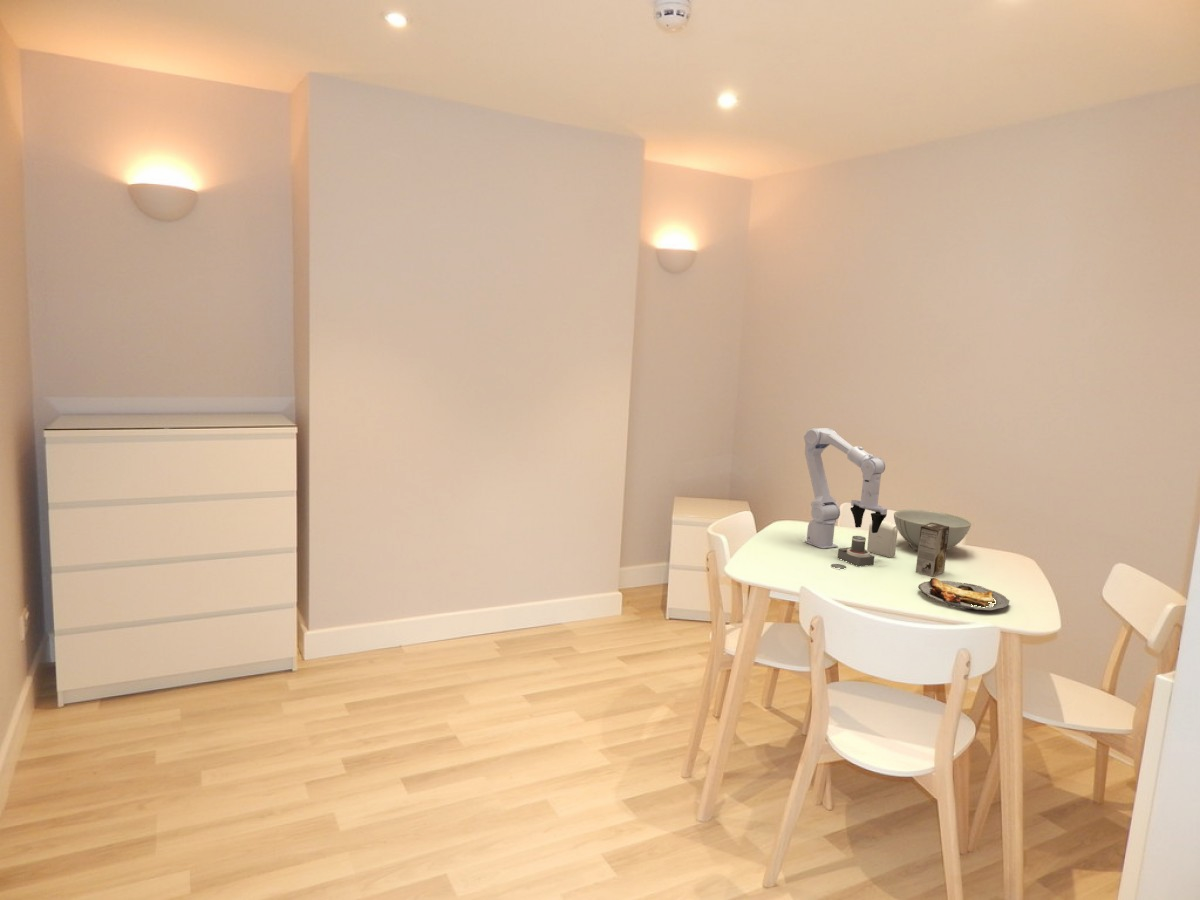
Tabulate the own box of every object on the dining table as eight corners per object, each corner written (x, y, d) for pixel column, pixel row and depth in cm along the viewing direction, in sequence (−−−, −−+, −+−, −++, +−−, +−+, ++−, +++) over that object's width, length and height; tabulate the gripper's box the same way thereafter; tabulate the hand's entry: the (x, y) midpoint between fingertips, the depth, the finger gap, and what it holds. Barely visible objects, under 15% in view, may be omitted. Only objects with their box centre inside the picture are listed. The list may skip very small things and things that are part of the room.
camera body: (836, 558, 272) (837, 547, 272) (852, 556, 276) (853, 545, 275) (858, 566, 264) (859, 554, 263) (874, 564, 267) (875, 552, 267)
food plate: (910, 599, 233) (912, 588, 232) (926, 581, 252) (927, 571, 251) (1002, 621, 219) (1004, 610, 218) (1011, 601, 238) (1013, 590, 238)
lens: (847, 552, 270) (849, 535, 269) (858, 552, 271) (860, 535, 270) (855, 556, 265) (857, 539, 265) (866, 555, 267) (868, 538, 266)
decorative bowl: (878, 546, 291) (882, 515, 289) (907, 535, 310) (910, 506, 309) (951, 564, 273) (956, 530, 271) (977, 551, 292) (981, 520, 290)
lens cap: (827, 566, 263) (827, 564, 263) (838, 565, 265) (838, 563, 265) (838, 571, 259) (838, 568, 259) (849, 569, 261) (849, 567, 261)
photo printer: (864, 551, 284) (868, 518, 282) (871, 549, 287) (874, 517, 285) (890, 558, 276) (894, 524, 274) (896, 556, 279) (900, 523, 277)
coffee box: (925, 567, 267) (931, 522, 265) (944, 572, 263) (950, 526, 260) (914, 572, 261) (920, 525, 258) (933, 577, 256) (939, 530, 254)
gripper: (846, 488, 275) (842, 525, 277) (878, 497, 263) (874, 536, 265) (860, 487, 279) (856, 524, 281) (893, 496, 266) (888, 534, 268)
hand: (866, 529), depth 273 cm, fingers open, 7 cm apart
